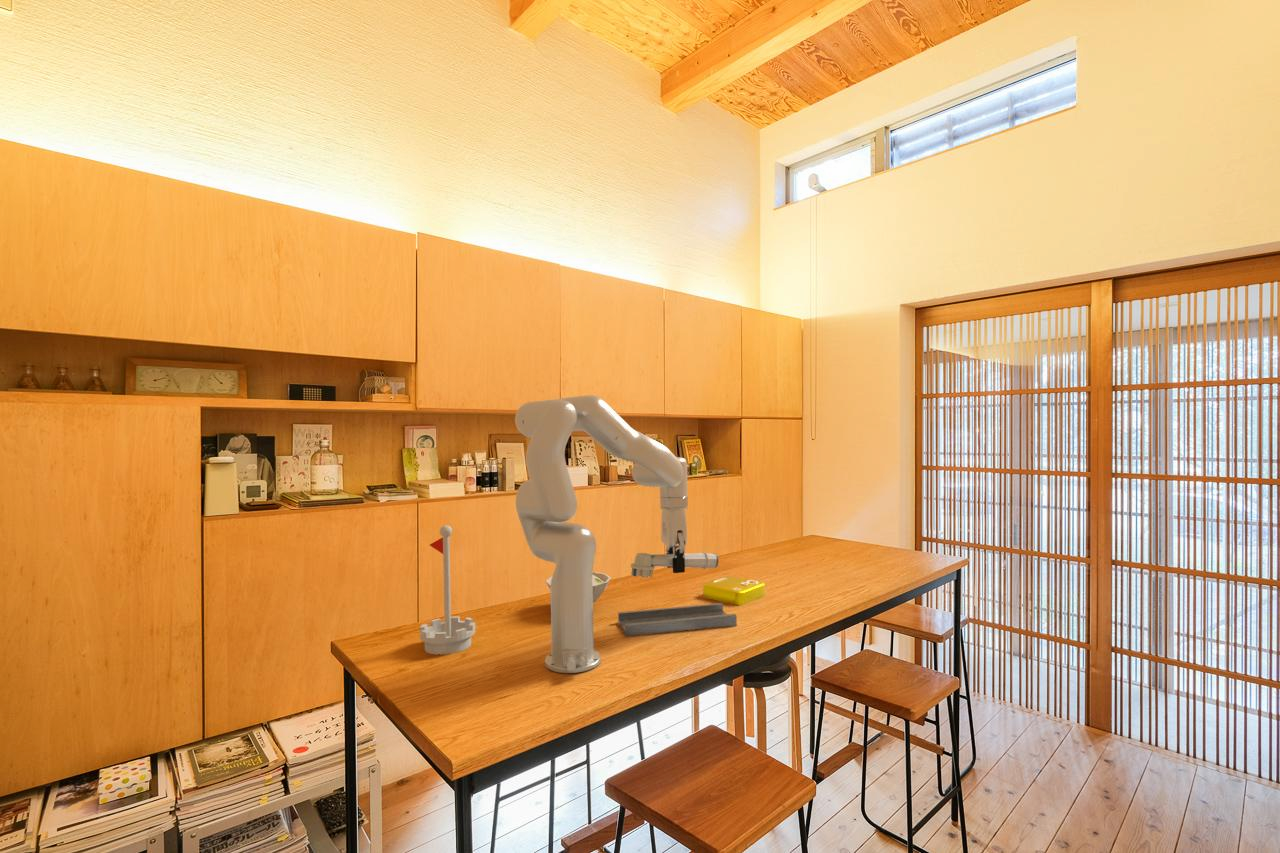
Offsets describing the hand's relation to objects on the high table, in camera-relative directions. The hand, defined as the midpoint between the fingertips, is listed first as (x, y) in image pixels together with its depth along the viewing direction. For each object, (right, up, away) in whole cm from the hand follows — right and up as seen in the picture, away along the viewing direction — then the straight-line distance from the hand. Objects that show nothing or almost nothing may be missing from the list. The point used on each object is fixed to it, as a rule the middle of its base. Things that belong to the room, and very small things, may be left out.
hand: (675, 569), depth 158 cm
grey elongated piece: (0, -1, 0) cm, 1 cm away
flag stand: (-57, -16, -13) cm, 61 cm away
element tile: (+20, -15, +26) cm, 36 cm away
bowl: (-28, -16, +15) cm, 35 cm away
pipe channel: (0, -15, 0) cm, 15 cm away
